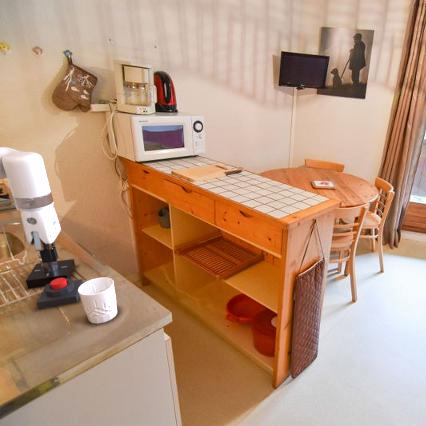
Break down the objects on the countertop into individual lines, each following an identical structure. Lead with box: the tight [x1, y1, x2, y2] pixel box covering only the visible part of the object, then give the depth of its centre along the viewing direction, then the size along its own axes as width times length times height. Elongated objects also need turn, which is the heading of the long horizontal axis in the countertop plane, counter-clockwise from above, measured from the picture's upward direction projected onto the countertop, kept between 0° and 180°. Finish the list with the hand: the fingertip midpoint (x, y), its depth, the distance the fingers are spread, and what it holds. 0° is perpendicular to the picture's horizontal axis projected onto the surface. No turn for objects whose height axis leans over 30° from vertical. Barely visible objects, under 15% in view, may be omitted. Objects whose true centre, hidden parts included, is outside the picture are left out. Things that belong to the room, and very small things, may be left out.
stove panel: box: [25, 258, 76, 290], centre depth 101 cm, size 10×10×3 cm
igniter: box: [36, 278, 84, 310], centre depth 93 cm, size 9×9×4 cm
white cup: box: [78, 276, 118, 325], centre depth 86 cm, size 8×8×10 cm
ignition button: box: [50, 278, 67, 290], centre depth 92 cm, size 4×4×2 cm
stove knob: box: [37, 251, 59, 272], centre depth 100 cm, size 4×4×6 cm
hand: (50, 260), depth 89 cm, fingers closed
